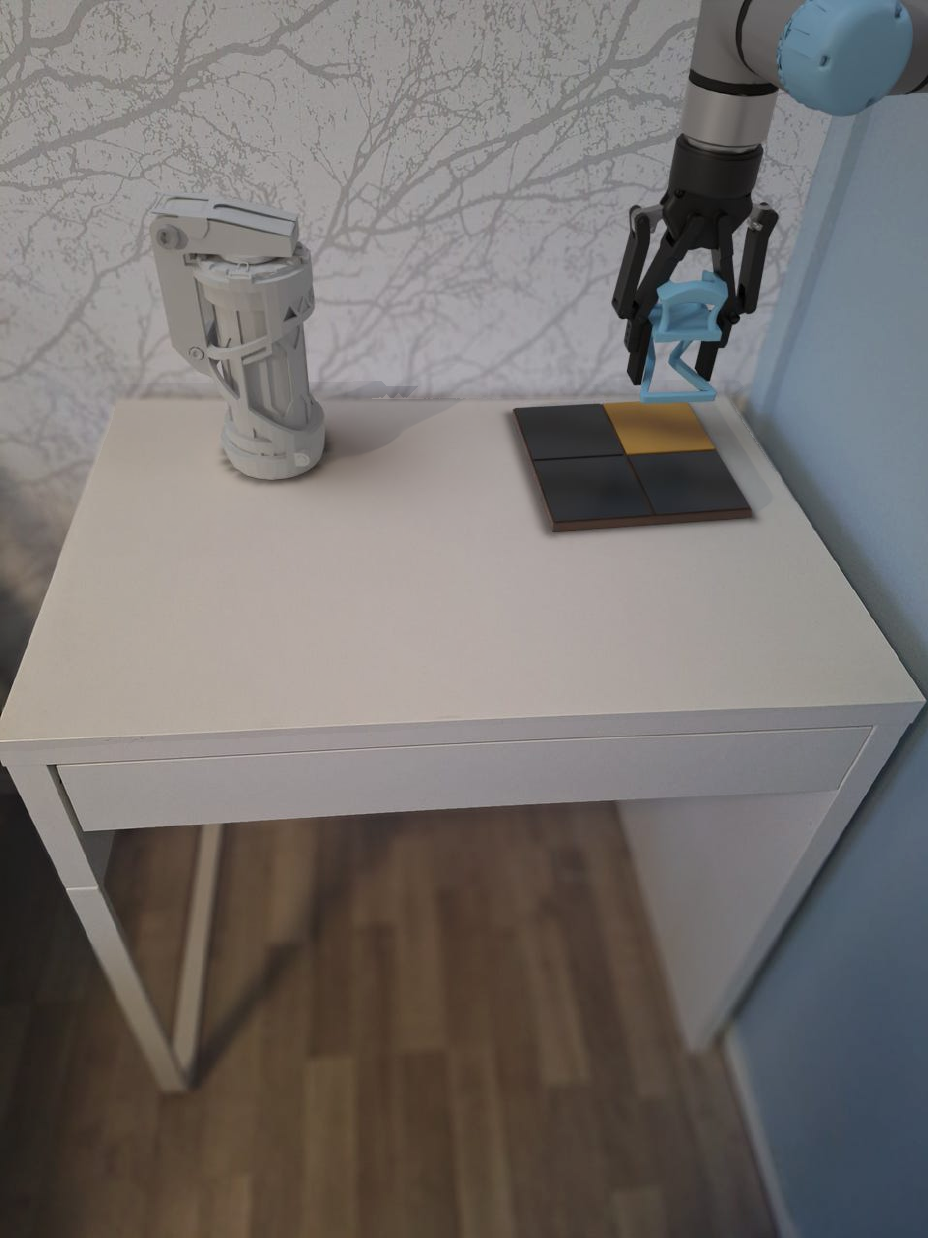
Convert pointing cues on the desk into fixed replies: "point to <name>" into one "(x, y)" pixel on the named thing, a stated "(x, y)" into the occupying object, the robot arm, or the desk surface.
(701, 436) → the board
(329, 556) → the desk surface
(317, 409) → the grey tall piece
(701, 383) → the chair
